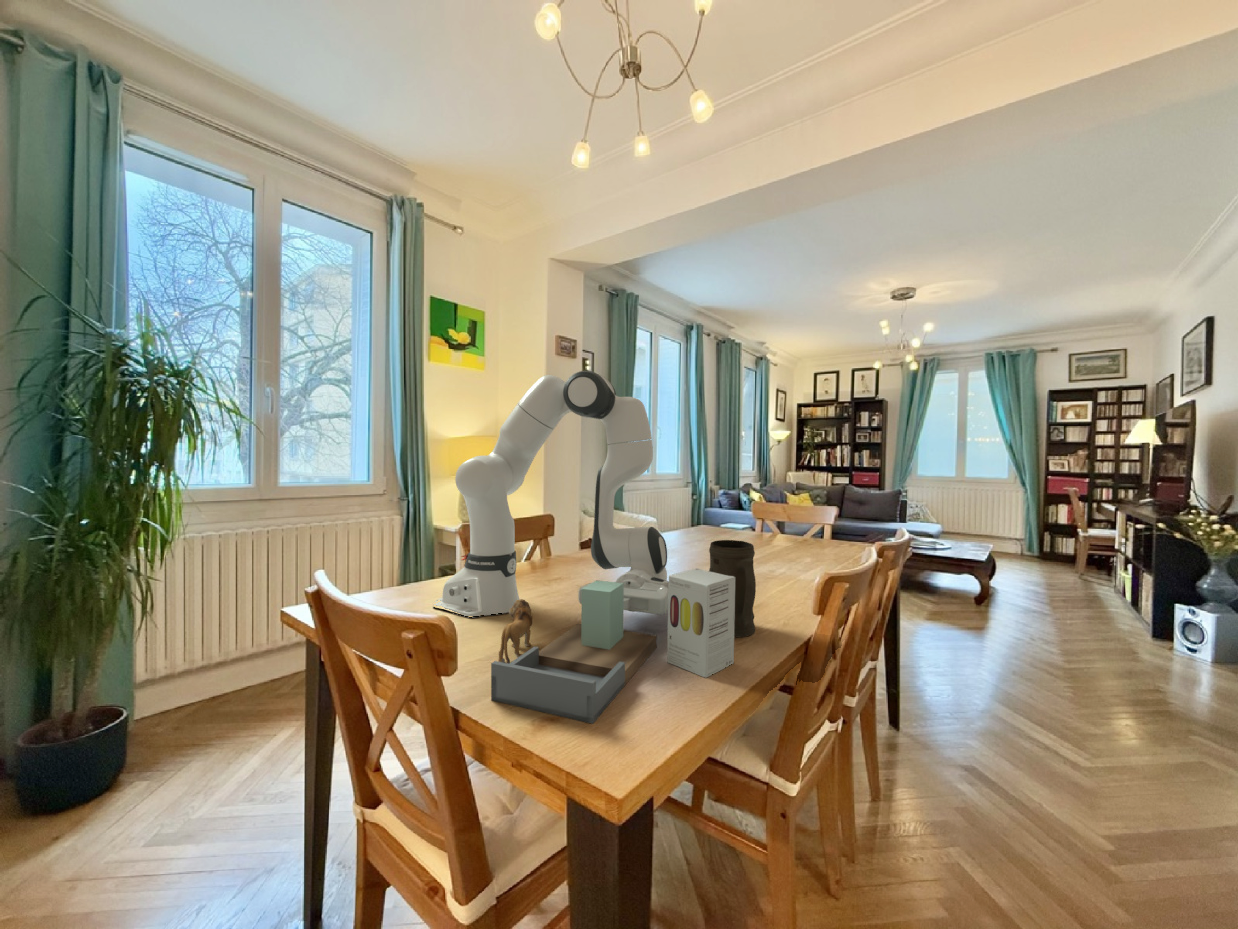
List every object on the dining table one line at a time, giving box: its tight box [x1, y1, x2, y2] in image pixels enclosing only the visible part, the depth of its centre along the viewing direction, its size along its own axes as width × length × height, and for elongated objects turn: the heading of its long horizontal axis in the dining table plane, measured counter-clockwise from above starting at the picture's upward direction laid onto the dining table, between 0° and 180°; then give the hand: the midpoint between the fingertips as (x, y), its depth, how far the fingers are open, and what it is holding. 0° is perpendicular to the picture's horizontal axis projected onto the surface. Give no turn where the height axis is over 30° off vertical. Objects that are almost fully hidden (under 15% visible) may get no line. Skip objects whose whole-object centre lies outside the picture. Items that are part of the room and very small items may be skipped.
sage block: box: [580, 579, 624, 650], centre depth 99 cm, size 6×7×11 cm
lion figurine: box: [498, 598, 533, 664], centre depth 99 cm, size 15×5×9 cm, turn 2°
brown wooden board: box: [539, 623, 658, 686], centre depth 97 cm, size 18×18×2 cm
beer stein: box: [708, 539, 757, 638], centre depth 110 cm, size 15×11×20 cm
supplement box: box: [666, 568, 735, 678], centre depth 94 cm, size 10×9×17 cm
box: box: [490, 646, 626, 724], centre depth 82 cm, size 18×13×6 cm
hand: (610, 607), depth 102 cm, fingers closed
